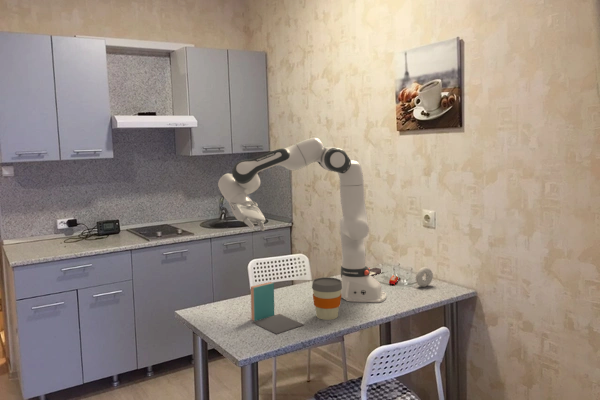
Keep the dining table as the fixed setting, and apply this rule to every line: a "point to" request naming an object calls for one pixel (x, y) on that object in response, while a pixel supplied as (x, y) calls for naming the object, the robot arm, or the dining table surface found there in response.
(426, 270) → the donut
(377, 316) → the dining table surface
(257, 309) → the tile
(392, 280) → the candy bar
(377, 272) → the chocolate bar
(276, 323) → the mat
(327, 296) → the reusable coffee cup
